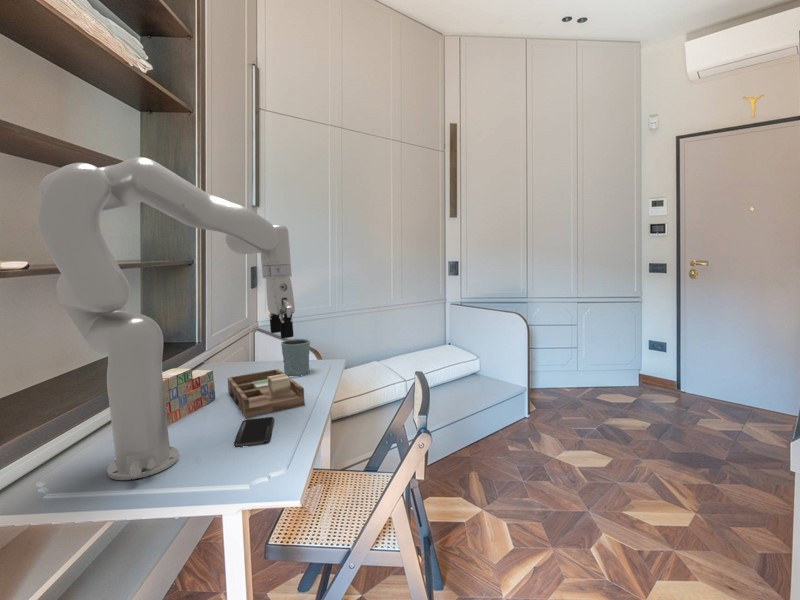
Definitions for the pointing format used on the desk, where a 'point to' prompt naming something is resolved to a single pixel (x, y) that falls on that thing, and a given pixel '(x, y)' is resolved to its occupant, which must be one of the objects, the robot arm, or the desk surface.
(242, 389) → the wooden shelf
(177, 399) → the stack of blocks
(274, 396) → the maple block
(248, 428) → the phone
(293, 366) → the grey green pot
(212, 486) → the desk surface
